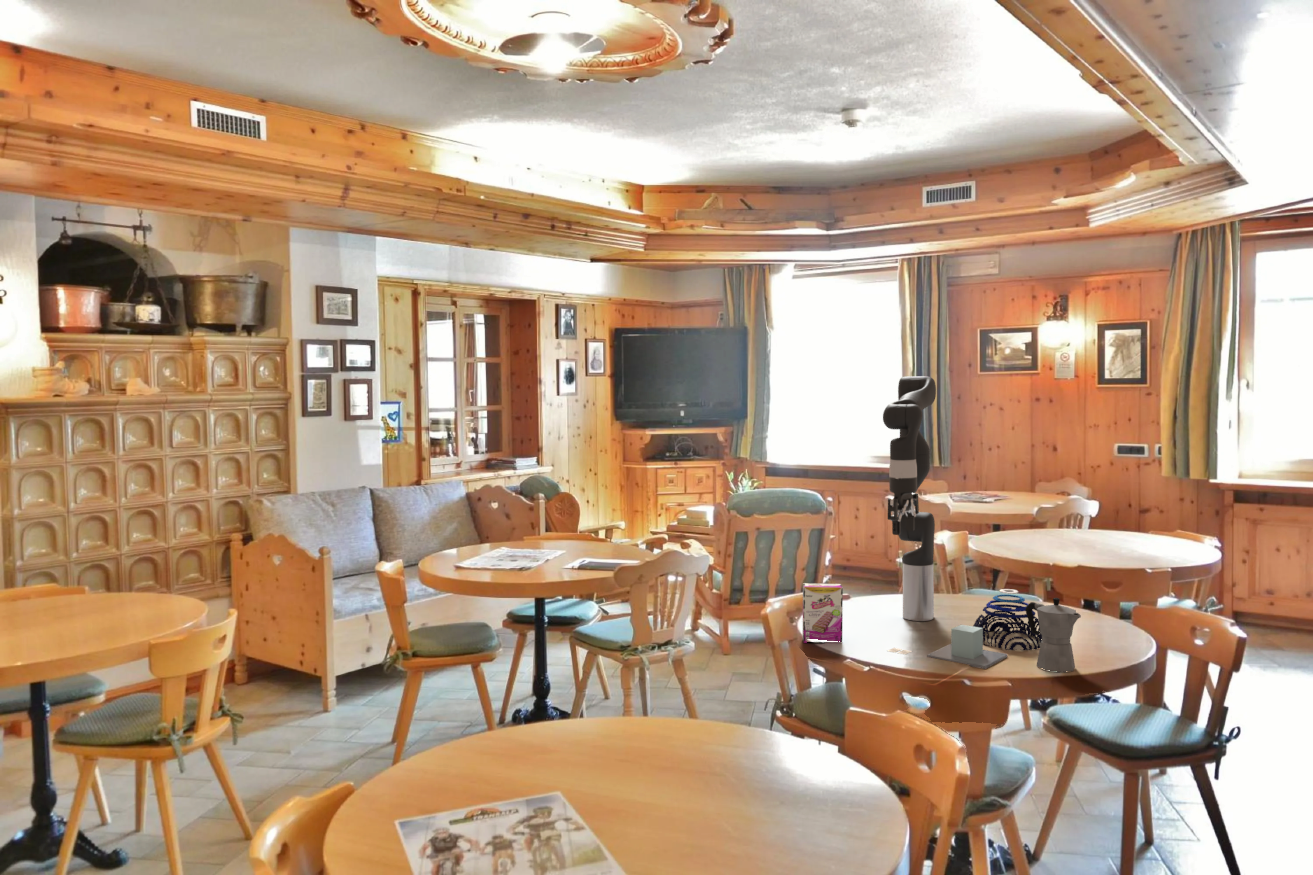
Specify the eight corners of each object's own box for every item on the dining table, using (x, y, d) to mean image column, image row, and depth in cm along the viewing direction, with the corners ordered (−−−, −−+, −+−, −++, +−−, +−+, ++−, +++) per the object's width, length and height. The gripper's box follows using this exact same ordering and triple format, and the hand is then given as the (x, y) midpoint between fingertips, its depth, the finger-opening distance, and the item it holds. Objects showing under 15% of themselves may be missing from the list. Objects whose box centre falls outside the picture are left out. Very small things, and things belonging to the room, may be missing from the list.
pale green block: (961, 649, 256) (961, 624, 255) (982, 653, 252) (982, 627, 251) (951, 654, 251) (951, 628, 251) (973, 658, 247) (973, 632, 247)
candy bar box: (803, 643, 267) (802, 586, 266) (802, 639, 272) (801, 582, 271) (843, 644, 266) (843, 586, 265) (841, 639, 271) (841, 583, 270)
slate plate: (950, 646, 262) (950, 643, 262) (1007, 656, 251) (1007, 653, 251) (927, 657, 252) (927, 654, 252) (985, 668, 241) (985, 665, 241)
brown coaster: (889, 642, 267) (889, 641, 267) (935, 651, 258) (935, 649, 258) (863, 653, 257) (863, 651, 257) (911, 662, 247) (911, 661, 247)
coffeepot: (1090, 670, 239) (1091, 599, 238) (1068, 677, 233) (1069, 605, 232) (1036, 656, 251) (1036, 589, 250) (1014, 662, 246) (1014, 594, 245)
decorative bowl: (1034, 632, 276) (1035, 583, 276) (1056, 651, 257) (1057, 598, 256) (964, 631, 278) (964, 583, 278) (981, 650, 259) (981, 598, 258)
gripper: (902, 472, 273) (902, 527, 274) (878, 477, 262) (879, 534, 263) (926, 473, 268) (927, 530, 269) (903, 478, 257) (904, 537, 258)
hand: (903, 532), depth 266 cm, fingers open, 8 cm apart
